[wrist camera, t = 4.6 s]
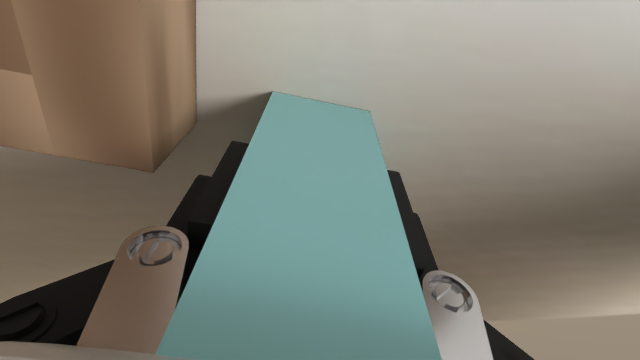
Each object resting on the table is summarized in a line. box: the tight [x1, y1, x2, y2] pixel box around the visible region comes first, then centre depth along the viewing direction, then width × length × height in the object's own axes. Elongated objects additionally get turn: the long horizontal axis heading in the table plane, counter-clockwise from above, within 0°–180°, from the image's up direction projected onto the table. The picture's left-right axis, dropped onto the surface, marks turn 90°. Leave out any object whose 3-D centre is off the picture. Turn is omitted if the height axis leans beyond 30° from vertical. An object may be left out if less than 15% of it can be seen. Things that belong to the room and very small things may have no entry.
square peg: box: [155, 92, 442, 360], centre depth 10 cm, size 4×4×11 cm
